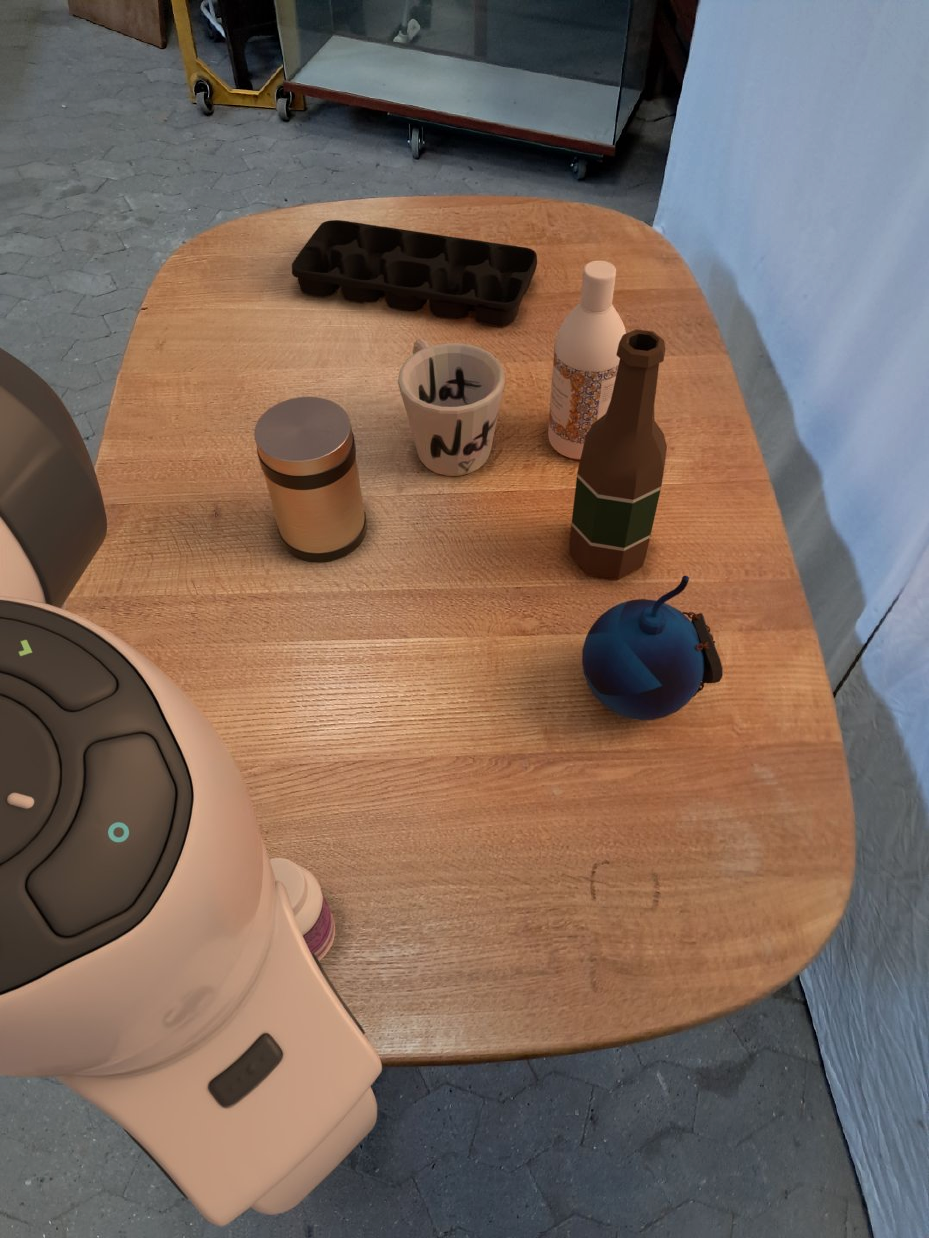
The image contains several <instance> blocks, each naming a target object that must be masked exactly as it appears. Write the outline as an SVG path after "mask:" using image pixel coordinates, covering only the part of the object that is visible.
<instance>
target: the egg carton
mask: <svg viewBox="0 0 929 1238" xmlns="http://www.w3.org/2000/svg"><path fill="white" fill-rule="evenodd" d="M537 266H538V254H537V252H536V251H535V250H534V249H532V248H529V247H527V246H520V245H519V246H518V245H514V244H513V245H512V244H505V243H498V242H490V241H486V240H485V241H484V240H476V239H470V238H464V237H463V238H462V237H456V236H449V235H444V234H435V233H430V232H423V231H422V232H421V231H416V230H415V231H414V230H409V229H403V228H395V227H389V226H382V225H376V224H368V223H362V222H356V221H348V220H340V219H333V220H332V219H331V220H326V221H324V222H322V223H320V225H319V226H318V227H317V229H316V230H314V232H313V233H312V235H311V236H310V238H309V239H308V241H306V243H305V244H304V246H303V247H302V248H301V250H300V251H299V252H298V253H297V255H296V257H295V258H294V260H293V261H292V263H291V275H292V276H293V277H294V278H296V279H297V283H298V286H299V290H300V291H301V293H303V294H306V295H308V296H313V297H321V298H326V297H331V296H333V295H336V293H337V291H338V290H339V289H340V291H341V295H342V296H341V297H342V298H343V299H344V300H346V301H347V302H352V303H356V304H366V303H367V304H368V303H378V302H379V300H381V298H384V300H385V304H386V305H387V307H388V308H390V309H393V310H398V311H402V312H403V311H404V312H411V313H413V312H418V311H421V310H422V309H424V307H425V306H426V303H427V302H428V306H429V311H430V313H431V314H432V315H433V316H436V317H440V318H444V319H450V320H462V319H464V318H466V317H468V316H469V315H470V313H474V317H475V320H476V321H477V322H478V323H479V324H482V325H487V326H492V327H505V326H510V325H511V324H512V323H514V322H515V321H516V318H517V316H518V313H519V309H520V308H519V307H520V305H521V303H522V300H523V298H524V295H525V294H526V293H527V292H528V291H529V288H530V285H531V283H532V280H533V277H534V275H535V273H536V270H537Z"/></svg>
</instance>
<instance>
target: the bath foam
mask: <svg viewBox="0 0 929 1238" xmlns="http://www.w3.org/2000/svg"><path fill="white" fill-rule="evenodd" d="M616 277H617V268H616V266H615V265H614V264H612V263H611V262H610V261H609V262H608V261H606V260H592V261H590V262H587V264H585V265H584V267H583V270H582V279H581V280H582V281H581V288H580V301H579V302H578V303H577V304H576V305H575V306H574V307H573V308H572V309H571V310H570V312H569V313H568V314H567V315H566V317H565V318H564V319H563V321H562V323H561V325H560V326H559V329H558V331H557V334H556V337H555V342H554V347H553V348H554V349H553V361H552V372H551V373H552V374H551V375H552V376H551V386H550V387H551V389H550V400H549V414H548V429H547V438H548V441H549V443H550V445H551V447H552V448H553V449H554V450H555V451H556V452H557V453H559V454H560V455H562V456H564V457H566V458H569V459H572V460H573V459H574V460H580V459H581V454H582V450H583V446H584V441H585V437H586V434H587V432H588V431H589V429H590V428H591V426H592V425H593V423H594V422H596V421H597V420H598V419H600V418H601V417H602V416H603V415H605V414H606V412H607V409H608V406H609V404H610V401H611V397H612V393H613V388H614V383H615V379H616V374H617V370H618V365H619V361H620V358H619V357H618V356H617V355H616V354H617V350H618V345H619V342H620V340H621V338H622V336H623V335H624V334H626V333H627V331H626V327H625V325H624V322H623V320H622V318H621V316H620V315H619V313H618V311H617V310H616V308H615V306H614V305H613V299H614V292H615V284H616Z"/></svg>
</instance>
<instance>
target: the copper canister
mask: <svg viewBox="0 0 929 1238" xmlns="http://www.w3.org/2000/svg"><path fill="white" fill-rule="evenodd" d="M354 435H355V434H354V432H353V429H352V422H351V419H350V417H349V414H348V413H347V411H346V410H345V409H344V408H343V407H342V406H340V405H339V404H338V403H336V402H334V401H332V400H329V399H326V398H322V397H317V396H300V397H293V398H290V399H287V400H283V401H281V402H278V403H276V404H275V405H273V406H271V407H269V408H268V409H267V410H266V411H264V412H263V414H262V415H261V416H260V417H259V418H258V420H257V422H256V423H255V427H254V431H253V436H254V441H255V442H254V443H255V446H256V454H257V457H258V461H259V465H260V468H261V471H262V473H263V475H264V480H265V482H266V486H267V487H266V488H267V490H268V494H269V498H270V502H271V505H272V509H273V514H274V516H275V520H276V524H277V532H278V536H279V540H280V543H281V544H282V547H283V548H284V549H285V550H286V551H287V552H288V553H289V554H291V555H292V557H293V556H294V557H295V558H297V559H299V560H302V561H306V562H310V563H327V562H332V561H335V560H339V559H341V558H344V557H346V556H348V555H349V554H351V553H352V552H354V551H355V550H357V548H358V547H359V546H360V545H361V544H362V543H363V541H364V539H365V536H366V535H367V529H368V521H367V515H366V512H365V511H366V510H365V508H364V503H363V495H362V494H363V493H362V489H361V488H362V487H361V482H360V475H359V469H358V462H357V447H356V441H355V436H354Z"/></svg>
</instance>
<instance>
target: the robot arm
mask: <svg viewBox="0 0 929 1238" xmlns="http://www.w3.org/2000/svg"><path fill="white" fill-rule="evenodd" d="M107 533H108V518H107V512H106V508H105V502H104V499H103V494H102V491H101V486H100V484H99V479H98V476H97V474H96V469H95V467H94V465H93V461H92V459H91V455H90V454H89V451H88V447H87V445H86V443H85V441H84V439H83V436H82V434H81V433H80V430H79V429H78V427H77V425H76V423H75V420H74V419H73V418H72V415H71V413H70V412H69V410H68V409H67V407H66V405H65V404H64V402H63V401H62V399H61V397H60V396H59V395H58V394H57V393H56V391H55V390H54V389H53V388H52V386H50V385H49V384H48V383H47V382H46V381H45V380H44V378H43V377H41V376H40V375H39V374H38V373H37V372H36V371H34V370H33V369H32V368H30V367H29V366H28V365H27V364H25V363H24V362H23V361H21V360H20V359H19V358H18V357H16V356H14V355H13V354H11V353H9V352H8V351H6V350H5V349H3V348H1V347H0V1076H4V1077H14V1078H54V1077H55V1078H56V1079H57V1080H58V1081H59V1082H61V1083H62V1084H63V1085H64V1086H65V1087H67V1088H69V1090H72V1091H73V1092H74V1093H75V1094H77V1095H79V1096H80V1097H81V1098H83V1099H84V1100H86V1101H87V1102H89V1103H91V1104H92V1105H93V1106H95V1107H96V1108H97V1109H99V1110H100V1111H102V1112H103V1113H104V1114H106V1115H107V1116H108V1117H109V1118H111V1119H112V1120H113V1121H114V1122H116V1123H117V1124H118V1125H119V1126H120V1127H122V1130H123V1131H124V1132H125V1133H126V1134H127V1135H128V1137H129V1138H130V1139H131V1140H132V1141H133V1142H134V1144H136V1145H137V1146H138V1147H139V1148H140V1149H141V1150H142V1151H143V1153H145V1155H146V1156H147V1157H148V1158H149V1159H150V1160H151V1161H152V1162H153V1163H154V1165H156V1167H158V1169H159V1170H160V1171H161V1172H162V1173H163V1174H164V1176H165V1177H166V1178H167V1179H168V1181H169V1182H170V1183H171V1184H172V1185H173V1186H174V1187H175V1189H176V1190H177V1191H178V1192H179V1193H180V1194H181V1195H182V1196H183V1197H184V1198H186V1199H187V1200H189V1201H190V1203H191V1204H192V1205H193V1206H194V1207H195V1209H196V1210H197V1211H198V1212H199V1214H200V1215H201V1216H202V1217H203V1218H204V1219H205V1220H206V1221H208V1222H209V1223H211V1224H213V1225H215V1226H217V1227H226V1226H228V1225H229V1224H230V1223H231V1222H232V1221H234V1220H235V1219H237V1218H238V1217H239V1216H241V1215H242V1214H243V1213H245V1212H246V1211H247V1210H248V1209H252V1210H254V1211H255V1212H258V1213H260V1214H263V1215H267V1216H269V1215H270V1216H273V1215H279V1214H282V1213H286V1212H288V1211H290V1210H292V1209H294V1208H295V1207H297V1206H298V1205H299V1204H300V1203H301V1202H302V1201H303V1200H304V1199H305V1198H306V1197H307V1196H308V1195H310V1194H311V1192H312V1191H313V1190H315V1188H316V1187H317V1186H318V1185H320V1184H321V1183H322V1182H323V1181H324V1180H325V1179H326V1178H327V1177H328V1176H329V1175H330V1174H331V1173H332V1172H333V1171H334V1170H335V1169H336V1168H337V1167H339V1165H340V1164H341V1163H342V1162H343V1161H344V1159H346V1158H347V1157H348V1155H350V1153H351V1152H352V1151H353V1150H354V1149H355V1148H356V1147H357V1146H358V1145H359V1144H360V1143H361V1142H362V1141H363V1140H364V1138H365V1137H367V1135H369V1133H370V1132H371V1131H372V1130H373V1128H374V1127H375V1126H376V1123H377V1119H378V1103H377V1100H376V1099H377V1098H376V1096H375V1094H374V1091H373V1089H372V1087H371V1086H372V1085H373V1084H374V1083H375V1081H376V1080H377V1079H378V1077H379V1076H380V1075H381V1073H382V1071H383V1065H382V1061H381V1057H380V1055H379V1053H378V1052H377V1050H376V1049H375V1048H374V1046H373V1045H372V1043H371V1042H370V1041H369V1039H368V1038H367V1037H366V1036H365V1034H366V1032H365V1030H364V1028H363V1027H362V1025H361V1024H360V1022H359V1021H358V1019H357V1017H355V1015H354V1014H353V1012H352V1011H351V1010H350V1008H349V1007H348V1005H347V1004H346V1002H345V1001H344V1000H343V998H342V997H341V994H340V993H339V992H338V990H337V989H336V988H335V986H334V984H333V983H332V981H331V979H330V978H329V976H328V975H327V973H326V972H325V970H324V967H323V966H322V964H321V962H320V961H318V959H317V957H316V955H315V954H314V953H313V952H312V953H311V952H310V950H309V948H308V946H307V944H306V942H305V940H304V938H303V935H302V933H301V931H300V928H299V926H298V923H297V921H296V918H295V915H294V912H293V909H292V906H291V903H290V900H289V896H288V893H287V891H286V888H285V886H284V884H283V883H282V882H281V881H278V880H277V881H276V879H275V876H274V872H273V869H272V866H271V864H270V859H271V858H270V856H269V853H268V849H267V848H266V845H265V841H264V840H263V837H262V834H261V829H260V825H259V820H258V817H257V814H256V810H255V807H254V804H253V801H252V798H251V796H250V792H249V790H248V787H247V784H246V781H245V779H244V777H243V774H242V772H241V770H240V768H239V766H238V764H237V761H236V759H235V757H234V756H233V754H232V752H231V750H230V749H229V747H228V745H227V743H226V742H225V741H224V739H223V738H222V736H221V735H220V733H219V732H218V731H217V729H216V728H215V726H214V724H213V723H212V722H211V720H210V719H209V718H208V716H207V715H206V714H205V712H204V711H203V710H202V709H201V708H200V707H199V706H198V704H197V703H196V702H195V701H194V699H192V698H191V696H189V694H188V693H186V691H185V690H184V689H183V688H182V687H181V686H180V685H179V684H178V683H177V682H176V681H175V680H174V679H172V678H171V676H169V675H168V674H167V673H166V672H165V671H164V670H163V669H161V668H160V667H159V666H158V665H157V664H155V663H154V662H153V661H152V660H150V659H149V658H148V657H147V656H146V655H144V653H142V652H140V651H139V650H138V649H136V648H135V647H133V646H132V645H131V644H129V643H128V642H126V641H125V640H123V639H122V638H120V637H119V636H117V635H116V634H114V633H112V632H111V631H109V630H107V629H105V628H103V627H102V626H100V625H98V624H97V623H94V622H93V621H91V620H89V619H87V618H85V617H83V616H81V615H79V614H76V613H73V612H72V611H69V610H66V609H64V608H62V607H63V606H64V605H65V602H66V601H67V599H68V598H69V596H70V595H71V593H72V592H73V590H74V588H75V587H76V586H77V584H78V583H79V580H81V577H82V576H83V574H84V573H85V572H86V570H87V568H88V567H89V565H90V564H91V562H92V561H93V559H94V557H96V554H97V553H98V551H99V550H100V549H101V547H102V545H103V544H104V542H105V540H106V536H107Z"/></svg>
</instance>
